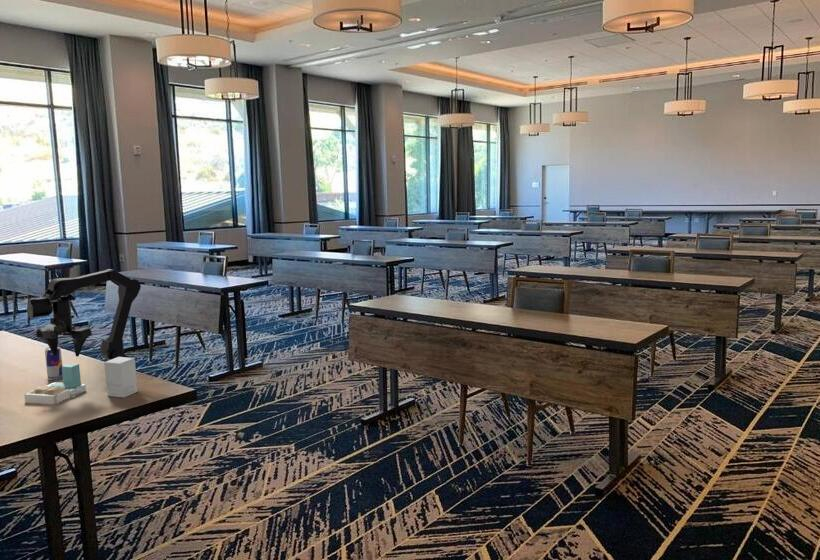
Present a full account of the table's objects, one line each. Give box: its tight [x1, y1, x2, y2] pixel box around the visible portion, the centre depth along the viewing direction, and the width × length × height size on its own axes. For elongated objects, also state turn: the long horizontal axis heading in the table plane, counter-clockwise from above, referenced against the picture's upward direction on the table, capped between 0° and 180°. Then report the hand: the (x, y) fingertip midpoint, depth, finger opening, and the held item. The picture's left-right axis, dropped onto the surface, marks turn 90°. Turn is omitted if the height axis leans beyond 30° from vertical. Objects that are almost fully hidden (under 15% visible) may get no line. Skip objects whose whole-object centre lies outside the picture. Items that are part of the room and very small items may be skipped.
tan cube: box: [33, 385, 53, 395], centre depth 223 cm, size 4×4×4 cm
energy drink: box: [44, 346, 63, 381], centre depth 246 cm, size 5×5×12 cm
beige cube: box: [47, 386, 65, 395], centre depth 222 cm, size 4×4×4 cm
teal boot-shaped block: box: [50, 363, 82, 391], centre depth 231 cm, size 8×9×9 cm
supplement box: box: [103, 357, 139, 398], centre depth 226 cm, size 7×7×13 cm
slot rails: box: [46, 382, 87, 398], centre depth 229 cm, size 13×8×2 cm, turn 78°
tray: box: [23, 389, 71, 405], centre depth 222 cm, size 12×7×3 cm, turn 78°
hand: (66, 355), depth 230 cm, fingers open, 9 cm apart
